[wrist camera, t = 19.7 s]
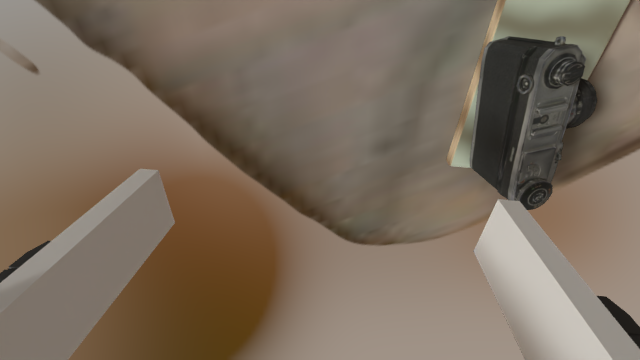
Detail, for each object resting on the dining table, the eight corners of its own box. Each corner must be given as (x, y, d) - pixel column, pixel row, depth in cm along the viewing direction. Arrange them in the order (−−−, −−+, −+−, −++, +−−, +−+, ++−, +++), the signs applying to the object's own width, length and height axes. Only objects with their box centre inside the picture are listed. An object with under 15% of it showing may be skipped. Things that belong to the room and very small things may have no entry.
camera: (530, 161, 40) (599, 202, 31) (465, 175, 40) (517, 221, 31) (563, 16, 30) (674, 19, 22) (479, 35, 30) (558, 45, 22)
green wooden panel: (519, -67, 28) (732, -147, 12) (651, -63, 27) (1058, -142, 11) (446, 160, 41) (503, 259, 26) (532, 166, 40) (644, 273, 25)
